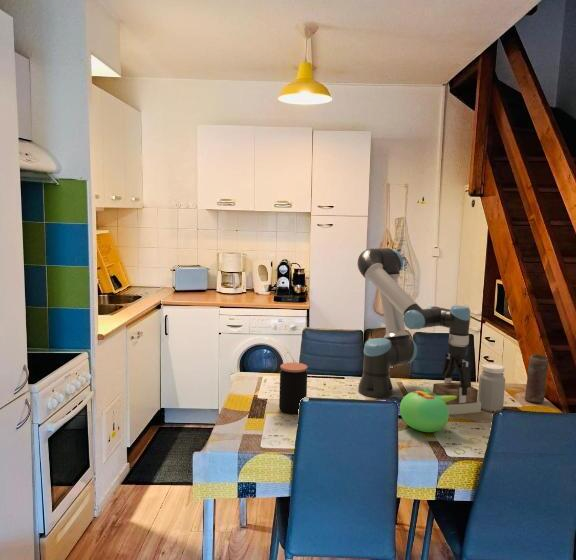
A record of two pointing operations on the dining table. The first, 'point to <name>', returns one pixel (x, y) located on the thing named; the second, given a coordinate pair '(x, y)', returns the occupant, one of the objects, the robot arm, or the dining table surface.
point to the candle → (536, 378)
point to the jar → (491, 387)
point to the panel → (464, 407)
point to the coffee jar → (292, 387)
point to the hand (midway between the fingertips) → (454, 397)
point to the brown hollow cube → (454, 391)
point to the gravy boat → (425, 410)
